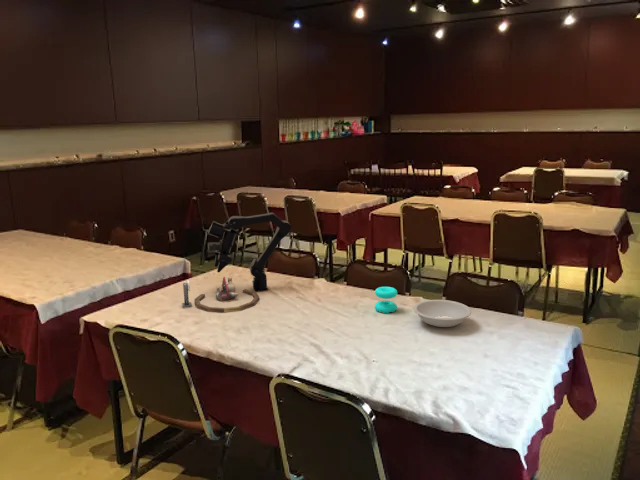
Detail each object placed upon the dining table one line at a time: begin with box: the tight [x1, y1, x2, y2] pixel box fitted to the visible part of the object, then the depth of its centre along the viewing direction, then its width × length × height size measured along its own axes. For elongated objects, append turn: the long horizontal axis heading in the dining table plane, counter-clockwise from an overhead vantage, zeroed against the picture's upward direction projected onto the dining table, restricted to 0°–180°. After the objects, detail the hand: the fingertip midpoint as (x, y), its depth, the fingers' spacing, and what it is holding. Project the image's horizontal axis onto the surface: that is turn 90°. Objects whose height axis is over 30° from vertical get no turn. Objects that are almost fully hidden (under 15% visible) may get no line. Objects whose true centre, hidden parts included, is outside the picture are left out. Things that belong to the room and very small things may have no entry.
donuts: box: [374, 286, 398, 314], centre depth 247 cm, size 10×10×10 cm
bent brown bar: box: [194, 288, 260, 313], centre depth 261 cm, size 30×26×2 cm
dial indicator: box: [181, 279, 193, 309], centre depth 256 cm, size 4×5×12 cm
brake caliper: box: [215, 276, 239, 303], centre depth 267 cm, size 11×11×12 cm
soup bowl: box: [412, 299, 472, 328], centre depth 231 cm, size 24×24×7 cm
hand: (216, 269), depth 273 cm, fingers open, 9 cm apart
